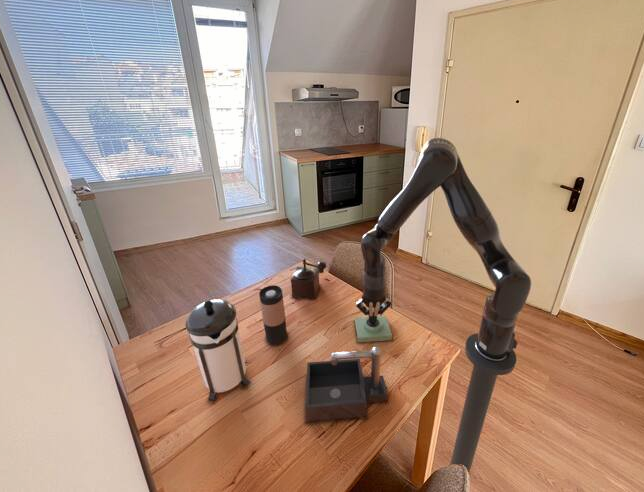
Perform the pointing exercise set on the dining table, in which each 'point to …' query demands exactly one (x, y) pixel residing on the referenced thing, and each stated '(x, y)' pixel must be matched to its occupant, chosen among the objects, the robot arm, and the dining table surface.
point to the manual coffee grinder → (307, 280)
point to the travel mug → (273, 314)
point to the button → (373, 324)
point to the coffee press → (217, 345)
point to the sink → (339, 391)
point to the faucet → (373, 354)
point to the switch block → (372, 330)
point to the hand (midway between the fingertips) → (372, 322)
